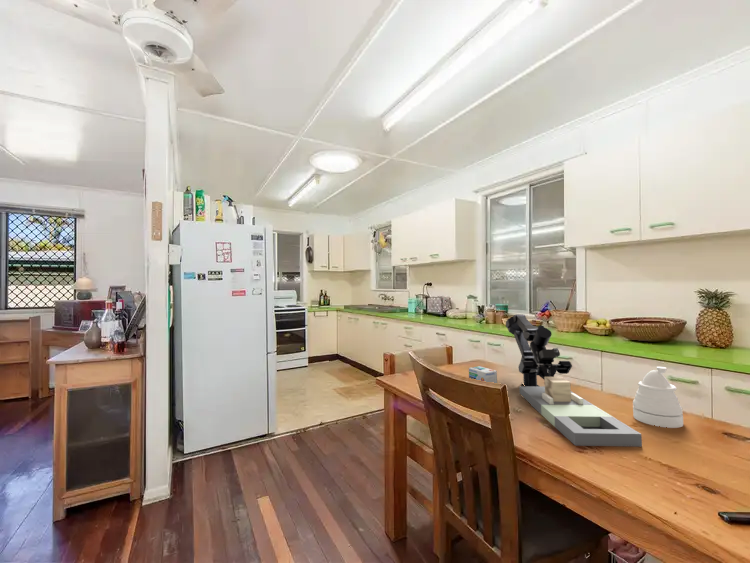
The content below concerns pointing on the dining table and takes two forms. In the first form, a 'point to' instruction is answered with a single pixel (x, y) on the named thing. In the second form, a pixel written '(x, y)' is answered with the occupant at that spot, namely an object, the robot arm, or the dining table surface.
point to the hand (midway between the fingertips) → (552, 385)
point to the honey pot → (657, 401)
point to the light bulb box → (483, 374)
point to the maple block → (558, 389)
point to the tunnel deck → (581, 420)
